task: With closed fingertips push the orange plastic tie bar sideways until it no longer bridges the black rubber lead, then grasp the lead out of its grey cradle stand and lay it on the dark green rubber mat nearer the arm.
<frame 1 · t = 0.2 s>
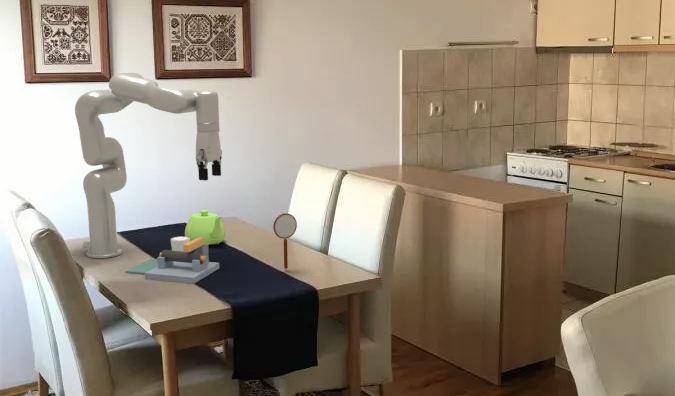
hand: (210, 177, 253), 31 cm above the table, fingers open, 9 cm apart
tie: (194, 244, 248), point 10 cm above the table, slide at 0.0 cm
teapot: (206, 244, 288), on the table
shot glass: (181, 257, 270), on the table
mat: (149, 267, 257), on the table
grey cradle stand: (183, 273, 249), on the table
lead: (182, 261, 249), point 4 cm above the table, touching grey cradle stand
magnifying glass: (285, 271, 252), on the table
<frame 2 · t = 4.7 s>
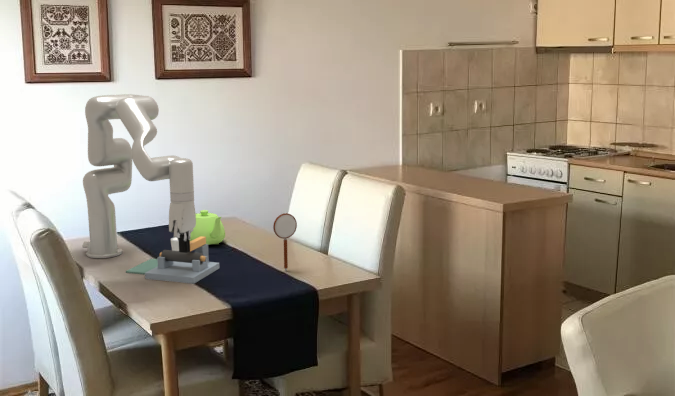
hand: (184, 251, 243), 9 cm above the table, fingers closed
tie: (195, 243, 249), point 10 cm above the table, slide at 1.0 cm, touching gripper
everything else where it was.
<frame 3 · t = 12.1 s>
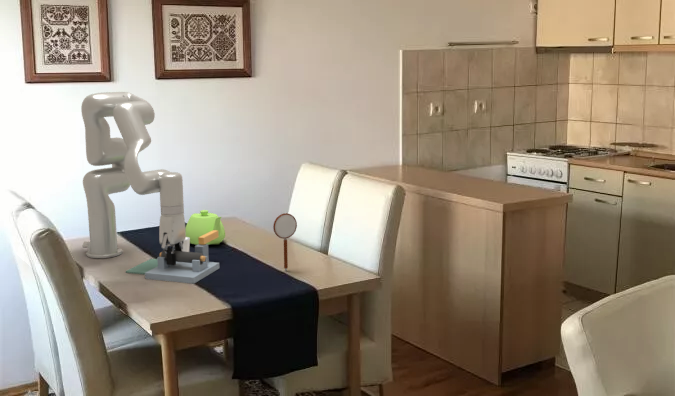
hand: (174, 262, 250), 4 cm above the table, fingers closed on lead, 3 cm apart
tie: (208, 237, 258), point 10 cm above the table, slide at 10.4 cm
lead: (182, 261, 249), point 4 cm above the table, touching grey cradle stand, gripper
everything else where it was.
when the fingers open (2 cm above the table, at t = 18.5 s): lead drops 2 cm, resting on mat.
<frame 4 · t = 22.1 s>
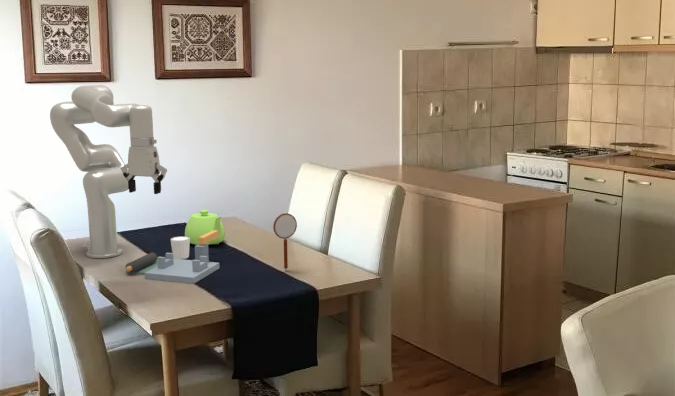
hand: (144, 192, 252), 26 cm above the table, fingers open, 9 cm apart
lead: (143, 267, 254), point 1 cm above the table, tilted 23°, touching mat
everything else where it was.
at the end: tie slide at 10.4 cm; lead inside the target area on the mat (3.0 cm from its centre), point 0.7 cm above the mat's base; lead touching mat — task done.
